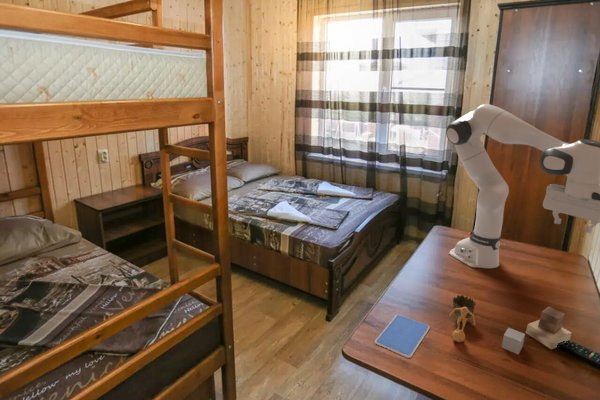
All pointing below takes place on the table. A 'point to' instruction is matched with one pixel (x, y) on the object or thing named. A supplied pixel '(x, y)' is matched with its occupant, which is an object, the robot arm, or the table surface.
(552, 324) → the walnut block
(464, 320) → the figurine
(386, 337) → the tablet computer
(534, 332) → the beech pedestal block
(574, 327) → the table surface
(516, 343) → the grey painted cube
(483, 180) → the robot arm
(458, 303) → the cup
